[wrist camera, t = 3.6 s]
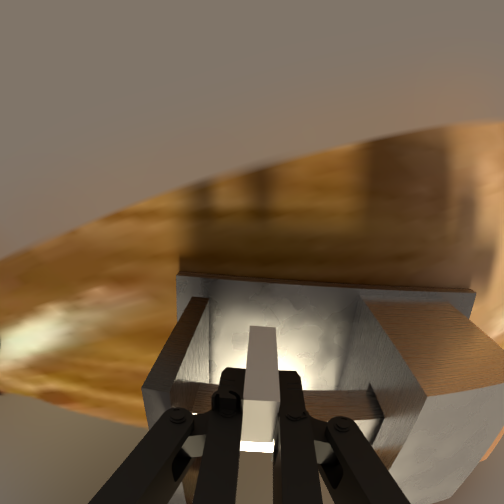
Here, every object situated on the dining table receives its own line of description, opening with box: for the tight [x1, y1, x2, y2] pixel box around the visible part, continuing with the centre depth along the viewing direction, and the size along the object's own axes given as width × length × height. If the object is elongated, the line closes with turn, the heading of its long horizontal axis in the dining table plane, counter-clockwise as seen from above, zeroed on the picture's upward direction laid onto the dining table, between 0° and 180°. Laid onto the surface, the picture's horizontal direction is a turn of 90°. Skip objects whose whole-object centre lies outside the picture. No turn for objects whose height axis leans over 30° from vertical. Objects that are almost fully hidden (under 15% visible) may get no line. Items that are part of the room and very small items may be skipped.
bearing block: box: [176, 271, 504, 504], centre depth 19 cm, size 26×13×13 cm, turn 86°
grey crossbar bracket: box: [142, 296, 385, 504], centre depth 17 cm, size 27×12×10 cm, turn 86°
